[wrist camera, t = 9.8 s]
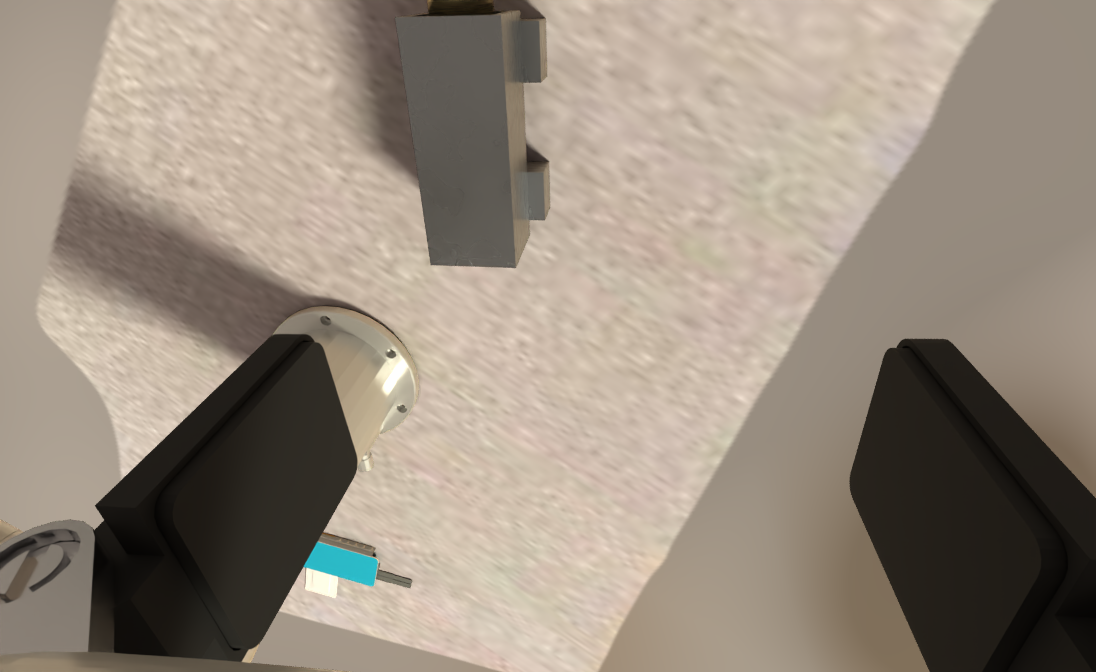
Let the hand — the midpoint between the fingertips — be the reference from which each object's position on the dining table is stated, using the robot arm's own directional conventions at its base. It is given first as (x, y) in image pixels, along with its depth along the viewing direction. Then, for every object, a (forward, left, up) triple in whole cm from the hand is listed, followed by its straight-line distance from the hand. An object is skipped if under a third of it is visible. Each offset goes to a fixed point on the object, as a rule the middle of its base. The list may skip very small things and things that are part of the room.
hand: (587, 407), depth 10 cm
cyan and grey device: (-47, +31, -30) cm, 64 cm away
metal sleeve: (-1, +8, -29) cm, 30 cm away
